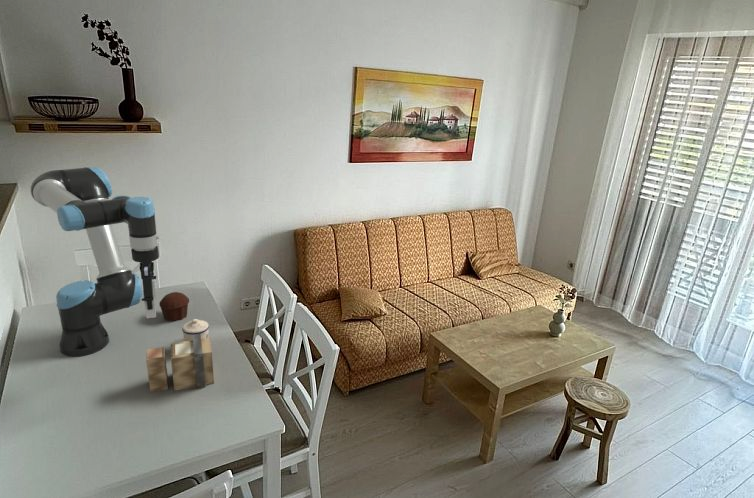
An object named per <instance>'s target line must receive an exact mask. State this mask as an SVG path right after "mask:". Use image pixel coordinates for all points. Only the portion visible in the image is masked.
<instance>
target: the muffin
mask: <svg viewBox="0 0 754 498" xmlns="http://www.w3.org/2000/svg"><path fill="white" fill-rule="evenodd" d="M189 303H190V299H189V297H188V296H187V295H185V293H184V292H183V293H182V292H178V291H173V292H169V293H167V294H166V295H164V297H162V298H161V300H160V301H159V307H160V309H161V313H162V317H163V319H164V320H165V321H167V322H177V321H182V320H184V319H186V318H187V315H188V309H189V308H188V307H189V306H188V305H189Z"/></svg>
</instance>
